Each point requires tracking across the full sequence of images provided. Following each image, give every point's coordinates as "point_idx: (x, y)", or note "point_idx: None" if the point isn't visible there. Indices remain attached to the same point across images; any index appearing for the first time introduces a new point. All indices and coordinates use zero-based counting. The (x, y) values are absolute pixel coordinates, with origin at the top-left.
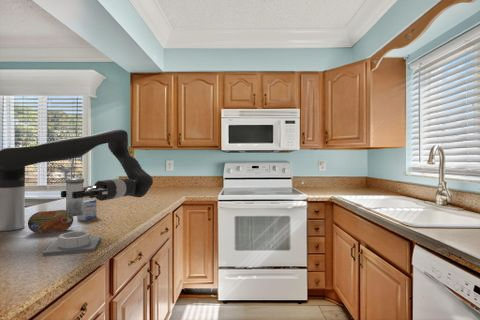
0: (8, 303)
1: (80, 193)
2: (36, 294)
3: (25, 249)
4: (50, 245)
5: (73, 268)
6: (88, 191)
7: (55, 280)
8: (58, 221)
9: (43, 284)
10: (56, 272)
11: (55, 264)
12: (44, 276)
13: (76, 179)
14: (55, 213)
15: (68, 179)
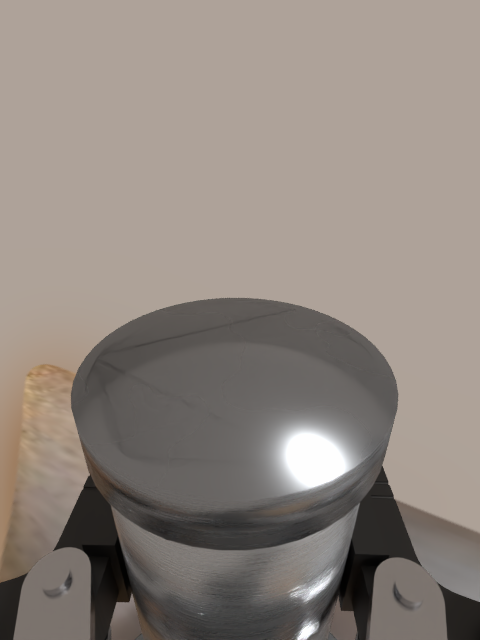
0: (61, 372)
1: (88, 490)
2: (30, 398)
3: None
4: (329, 634)
5: (22, 512)
6: (25, 619)
7: (30, 443)
8: None
9: (47, 423)
10: (63, 472)
11: None
12: (79, 447)
13: (123, 328)
14: None
15: (229, 303)
